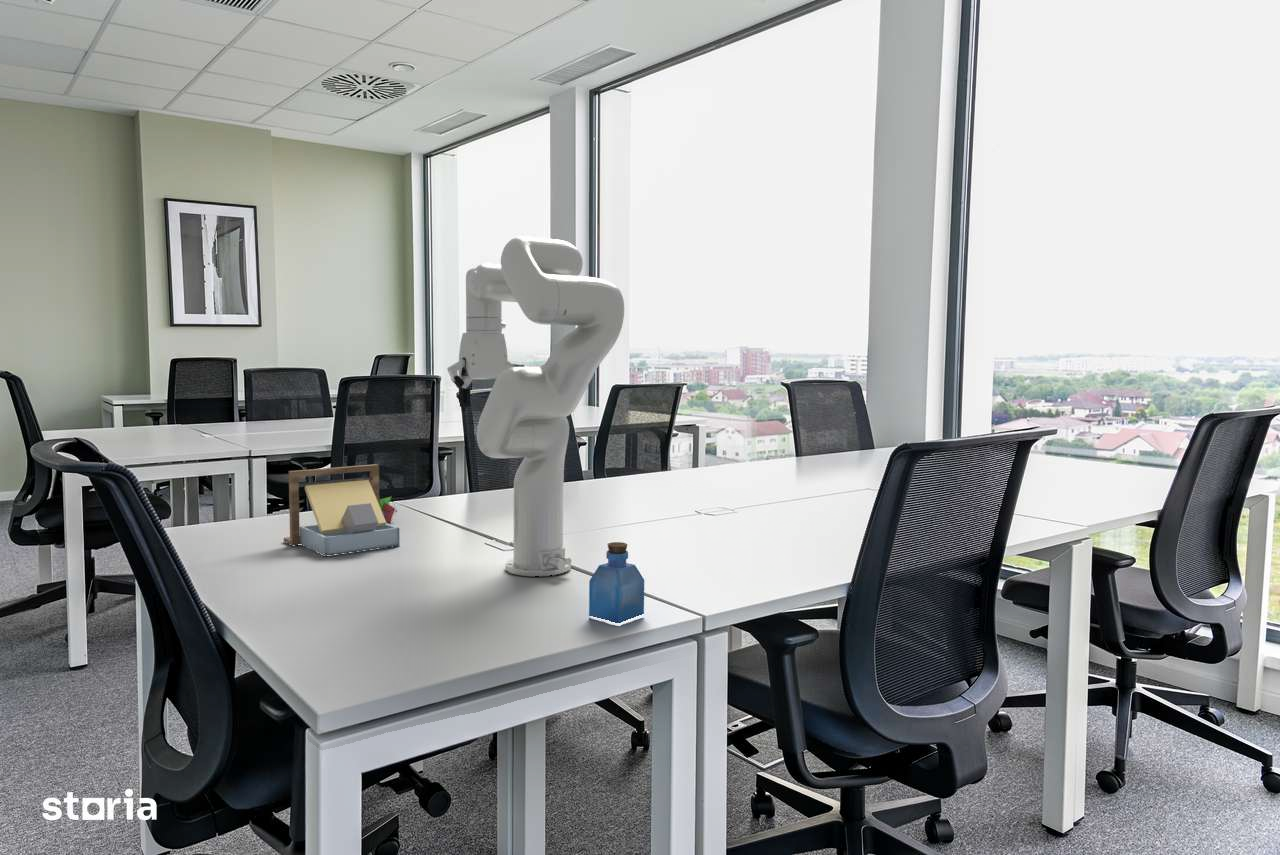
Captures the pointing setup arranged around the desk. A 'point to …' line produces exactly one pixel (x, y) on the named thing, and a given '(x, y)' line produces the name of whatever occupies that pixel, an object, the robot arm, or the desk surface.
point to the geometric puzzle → (387, 509)
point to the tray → (348, 539)
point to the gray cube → (359, 519)
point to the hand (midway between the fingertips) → (484, 406)
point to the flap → (340, 502)
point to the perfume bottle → (616, 587)
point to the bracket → (295, 484)
